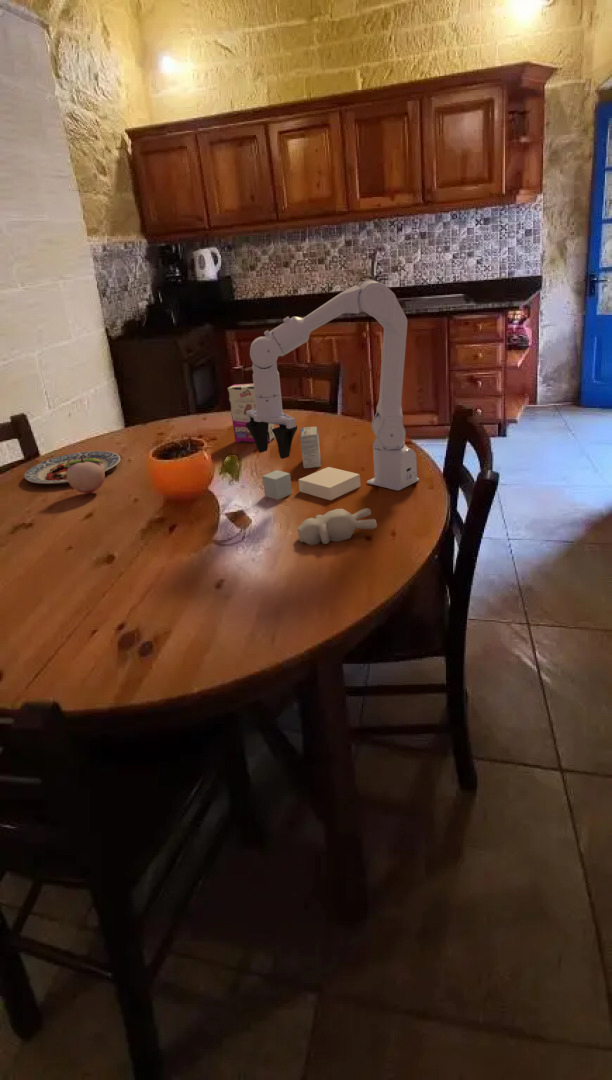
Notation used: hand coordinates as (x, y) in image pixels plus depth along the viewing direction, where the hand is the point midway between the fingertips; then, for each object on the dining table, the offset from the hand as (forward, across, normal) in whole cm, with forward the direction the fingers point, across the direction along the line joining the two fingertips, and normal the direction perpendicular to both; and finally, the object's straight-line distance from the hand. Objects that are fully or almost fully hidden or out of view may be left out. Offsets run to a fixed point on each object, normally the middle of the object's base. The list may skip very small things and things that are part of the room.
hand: (273, 454), depth 149 cm
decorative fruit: (+11, -41, -27) cm, 50 cm away
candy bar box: (+10, -39, +25) cm, 48 cm away
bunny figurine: (+10, +28, -8) cm, 30 cm away
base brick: (+9, +8, +9) cm, 15 cm away
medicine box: (+10, -9, +20) cm, 24 cm away
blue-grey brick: (+10, 0, 0) cm, 10 cm away
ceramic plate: (+11, -62, -21) cm, 67 cm away
